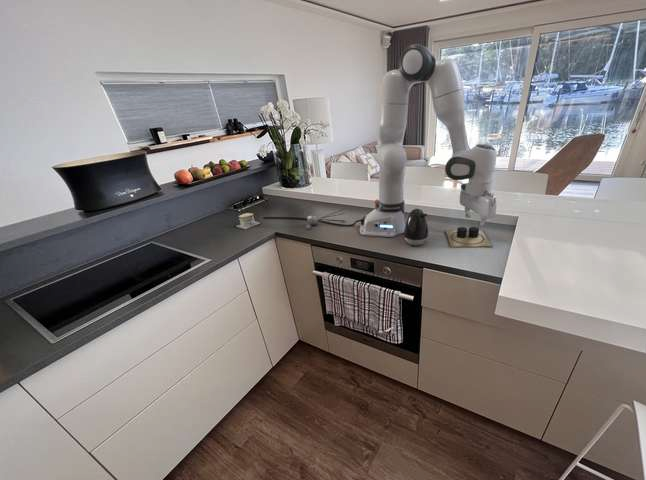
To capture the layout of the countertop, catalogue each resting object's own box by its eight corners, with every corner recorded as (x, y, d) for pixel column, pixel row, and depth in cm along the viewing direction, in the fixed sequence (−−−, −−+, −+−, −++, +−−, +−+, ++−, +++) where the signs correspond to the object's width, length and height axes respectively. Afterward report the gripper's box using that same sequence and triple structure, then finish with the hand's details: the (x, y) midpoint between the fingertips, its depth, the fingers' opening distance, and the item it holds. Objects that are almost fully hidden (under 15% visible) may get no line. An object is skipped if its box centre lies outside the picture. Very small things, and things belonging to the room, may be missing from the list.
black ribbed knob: (459, 238, 123) (460, 231, 121) (454, 235, 126) (455, 227, 125) (467, 237, 123) (468, 229, 122) (463, 233, 127) (464, 226, 125)
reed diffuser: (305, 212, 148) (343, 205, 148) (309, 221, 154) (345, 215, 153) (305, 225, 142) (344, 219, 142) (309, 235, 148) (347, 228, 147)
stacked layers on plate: (245, 229, 150) (242, 219, 147) (235, 226, 155) (232, 216, 152) (261, 223, 156) (258, 213, 154) (251, 220, 161) (249, 211, 159)
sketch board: (450, 247, 118) (450, 245, 118) (445, 231, 132) (445, 230, 131) (491, 247, 116) (491, 245, 115) (482, 231, 129) (482, 230, 129)
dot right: (472, 238, 122) (473, 231, 120) (466, 235, 125) (467, 227, 124) (480, 236, 123) (481, 229, 121) (474, 233, 126) (475, 226, 125)
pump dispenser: (416, 250, 117) (417, 215, 110) (398, 242, 125) (399, 209, 117) (433, 243, 122) (435, 208, 115) (415, 235, 130) (416, 203, 122)
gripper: (503, 194, 106) (496, 228, 113) (471, 182, 123) (467, 212, 130) (488, 196, 105) (482, 231, 112) (458, 183, 122) (455, 214, 129)
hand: (474, 221), depth 121 cm, fingers open, 8 cm apart
